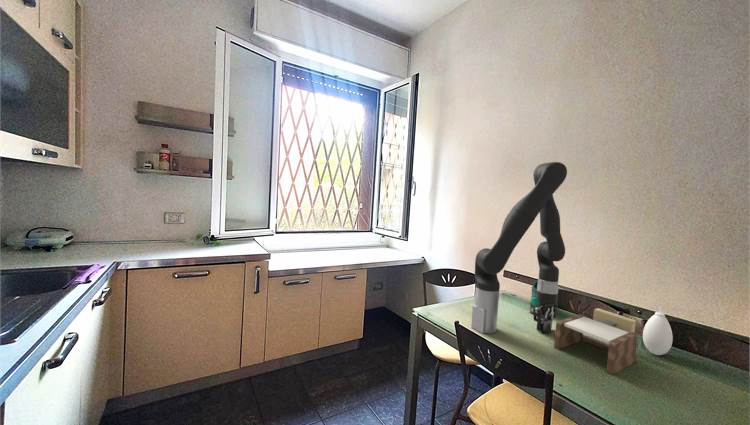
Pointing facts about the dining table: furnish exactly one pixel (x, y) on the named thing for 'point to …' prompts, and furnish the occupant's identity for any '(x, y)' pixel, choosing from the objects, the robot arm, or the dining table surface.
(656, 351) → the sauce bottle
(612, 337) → the trapdoor
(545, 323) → the cylinder
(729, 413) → the dining table surface
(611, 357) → the frame
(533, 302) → the sneaker
